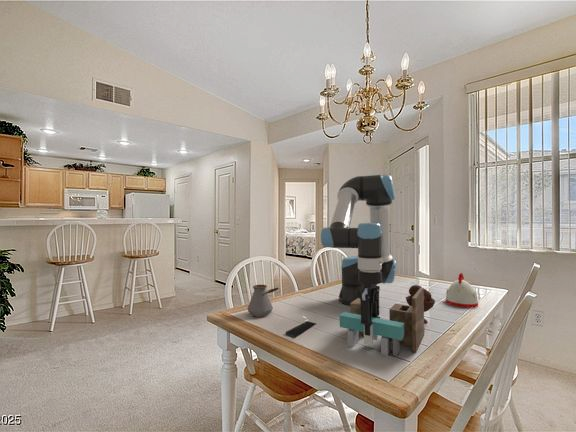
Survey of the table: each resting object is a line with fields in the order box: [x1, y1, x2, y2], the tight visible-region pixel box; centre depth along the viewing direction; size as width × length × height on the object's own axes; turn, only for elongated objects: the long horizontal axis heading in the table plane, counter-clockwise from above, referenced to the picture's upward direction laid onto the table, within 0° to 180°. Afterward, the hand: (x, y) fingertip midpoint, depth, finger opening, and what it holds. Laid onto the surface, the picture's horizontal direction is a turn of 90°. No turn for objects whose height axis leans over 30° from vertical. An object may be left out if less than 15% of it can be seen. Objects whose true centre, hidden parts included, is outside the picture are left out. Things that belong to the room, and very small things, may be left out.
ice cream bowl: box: [405, 284, 436, 325], centre depth 120 cm, size 11×11×15 cm
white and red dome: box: [445, 272, 479, 309], centre depth 144 cm, size 14×14×15 cm
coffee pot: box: [247, 284, 280, 318], centre depth 127 cm, size 21×12×15 cm, turn 35°
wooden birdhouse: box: [389, 287, 425, 354], centre depth 99 cm, size 9×16×18 cm, turn 146°
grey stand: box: [347, 329, 393, 357], centre depth 94 cm, size 13×5×6 cm, turn 56°
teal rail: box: [339, 311, 404, 357], centre depth 94 cm, size 20×4×9 cm, turn 56°
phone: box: [285, 321, 317, 339], centre depth 111 cm, size 8×1×15 cm
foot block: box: [349, 298, 364, 337], centre depth 108 cm, size 6×8×12 cm
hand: (370, 341), depth 94 cm, fingers closed on teal rail, 4 cm apart
